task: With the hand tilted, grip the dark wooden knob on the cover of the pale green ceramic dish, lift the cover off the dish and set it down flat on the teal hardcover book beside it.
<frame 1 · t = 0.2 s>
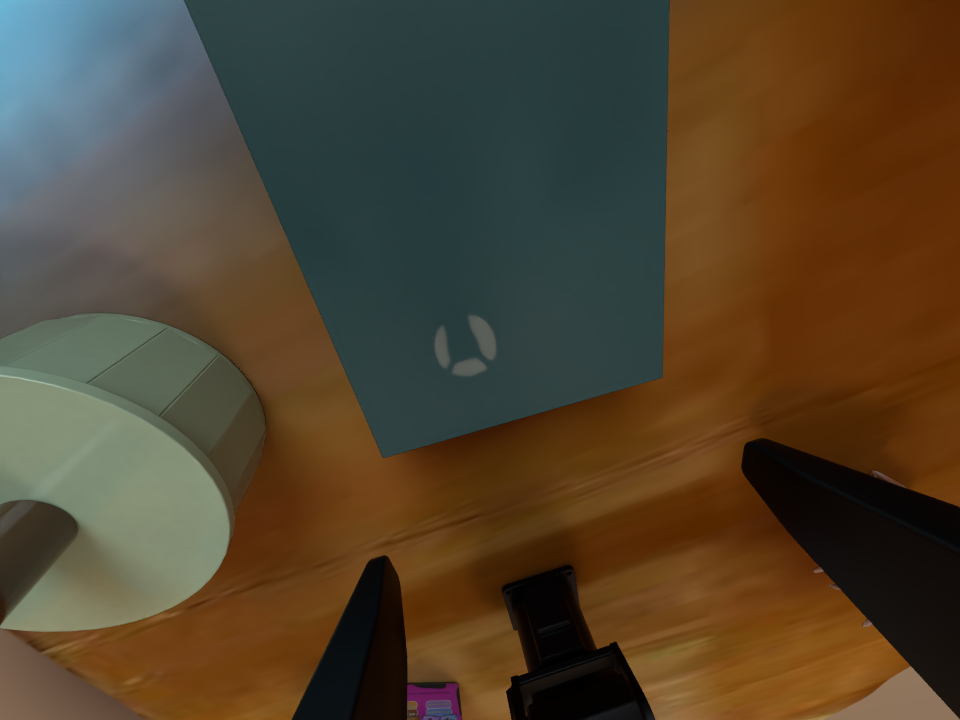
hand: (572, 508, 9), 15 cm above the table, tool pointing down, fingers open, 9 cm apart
candy bar box: (399, 693, 39), on the table
cover: (47, 513, 16), point 6 cm above the table, touching dish
dish: (141, 421, 21), on the table
book: (475, 219, 20), on the table
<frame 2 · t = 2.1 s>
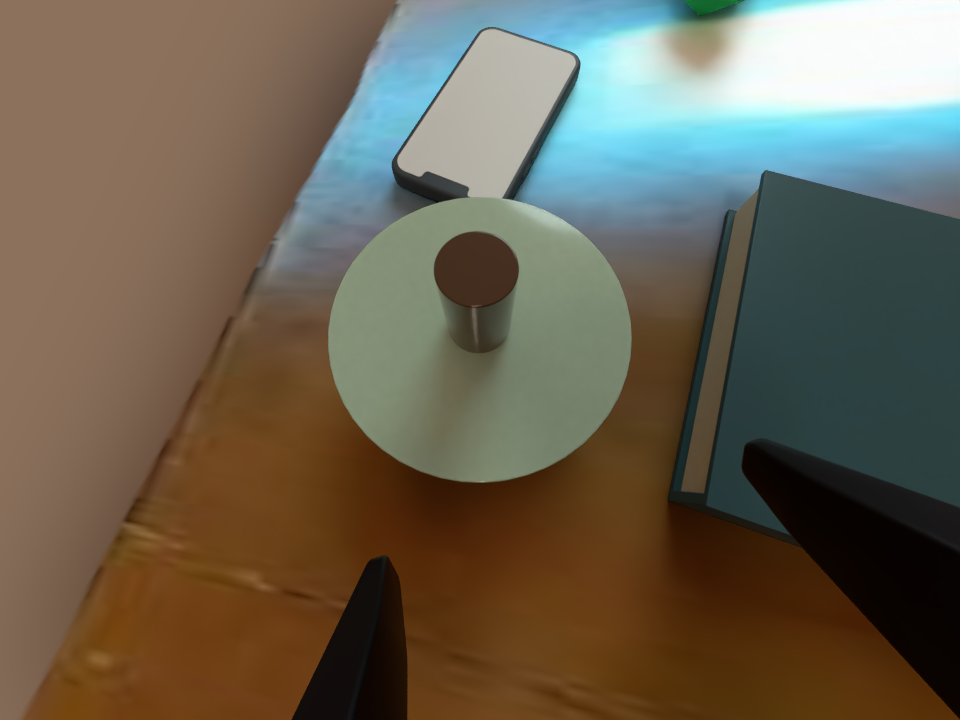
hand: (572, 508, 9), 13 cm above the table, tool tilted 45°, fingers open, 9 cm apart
cover: (479, 328, 18), point 6 cm above the table, touching dish
book: (831, 381, 24), on the table
smartphone: (490, 128, 30), on the table
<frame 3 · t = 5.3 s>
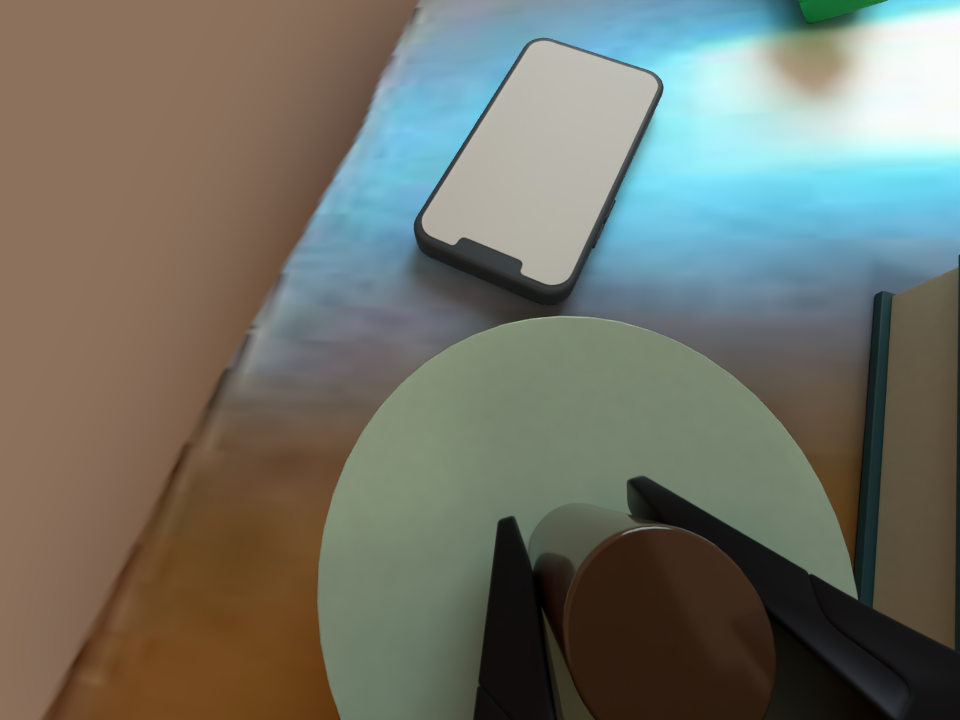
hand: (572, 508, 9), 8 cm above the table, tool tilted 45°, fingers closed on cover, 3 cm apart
cover: (576, 556, 11), point 7 cm above the table, touching dish, gripper
smartphone: (542, 172, 22), on the table
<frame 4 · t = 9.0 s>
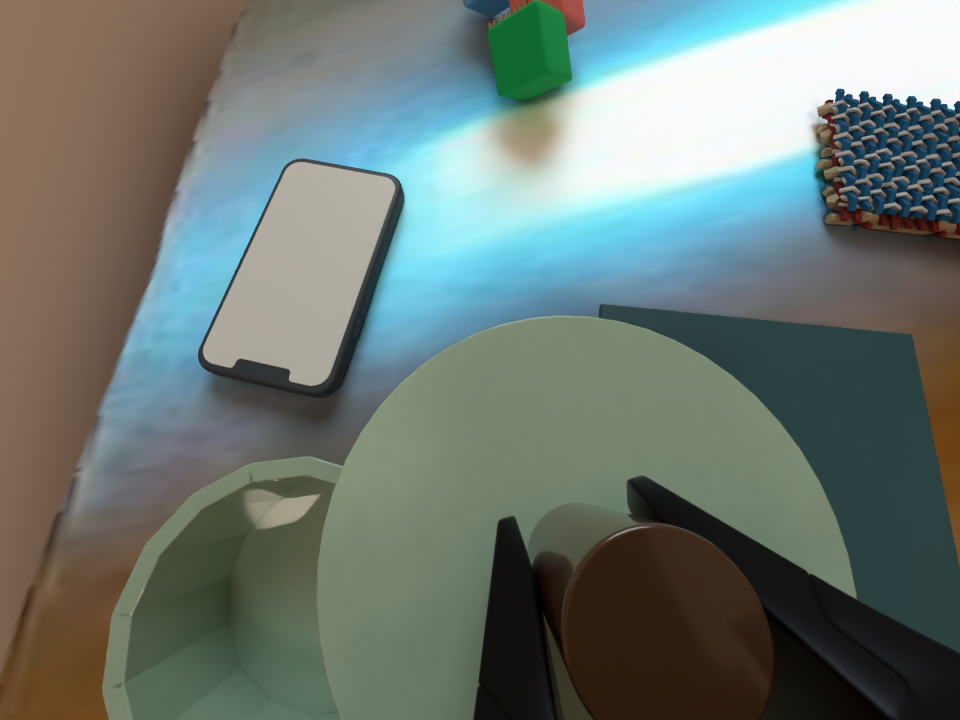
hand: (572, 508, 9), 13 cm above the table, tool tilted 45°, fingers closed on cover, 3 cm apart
building blocks: (508, 58, 32), on the table
woven mat: (886, 178, 28), on the table
cover: (575, 555, 11), point 12 cm above the table, touching gripper
dish: (337, 583, 21), on the table
book: (720, 512, 22), on the table
smartphone: (316, 276, 26), on the table
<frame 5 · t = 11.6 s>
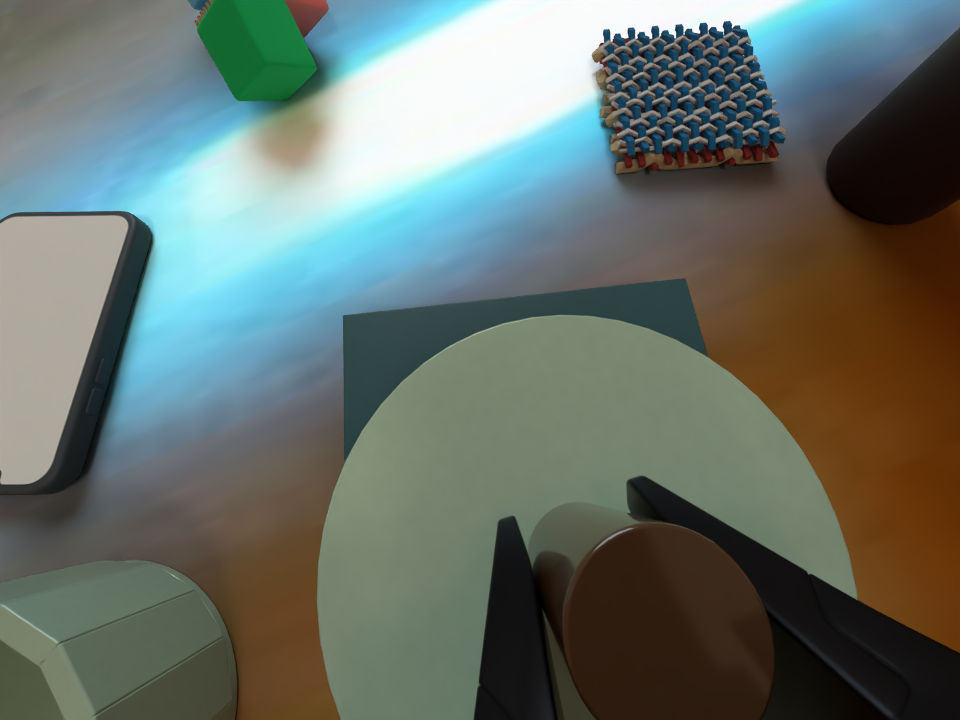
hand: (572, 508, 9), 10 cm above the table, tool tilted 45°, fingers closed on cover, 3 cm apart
bottle: (876, 183, 24), on the table
building blocks: (264, 58, 28), on the table
woven mat: (674, 114, 26), on the table
cover: (576, 555, 11), point 9 cm above the table, touching gripper
dish: (93, 717, 17), on the table
book: (537, 517, 19), on the table
smartphone: (54, 345, 22), on the table
when the fingers open (6 cm above the table, at t = 13.1 s): cover stays where it is, resting on book.
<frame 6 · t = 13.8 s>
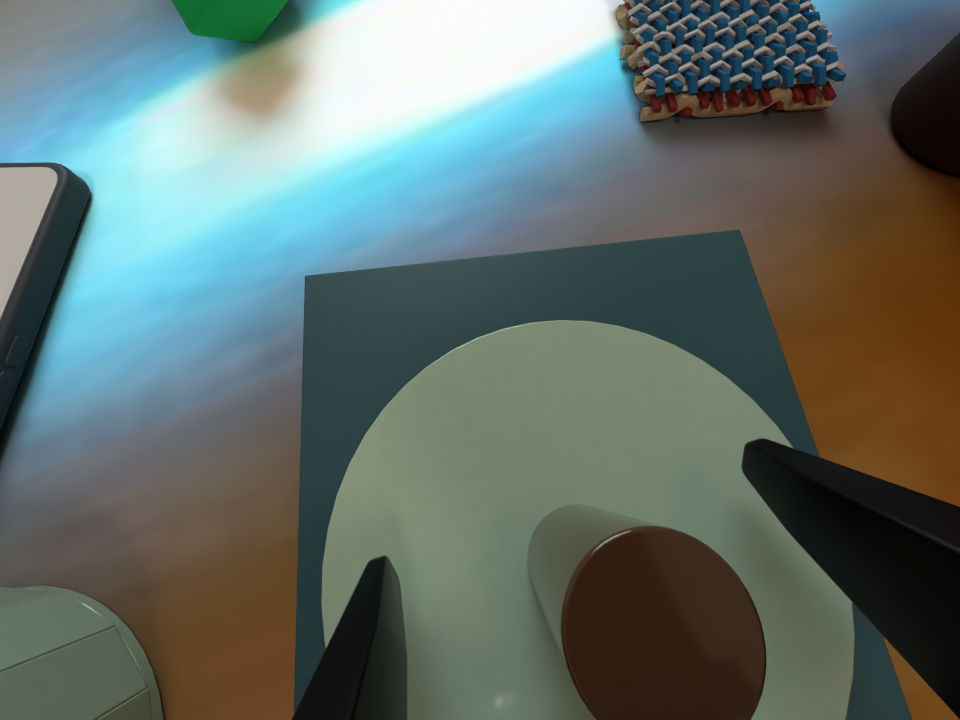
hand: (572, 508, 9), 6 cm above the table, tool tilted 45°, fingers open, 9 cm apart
bottle: (949, 132, 20), on the table
woven mat: (707, 56, 22), on the table
cover: (575, 556, 11), point 5 cm above the table, touching book
book: (550, 533, 15), on the table
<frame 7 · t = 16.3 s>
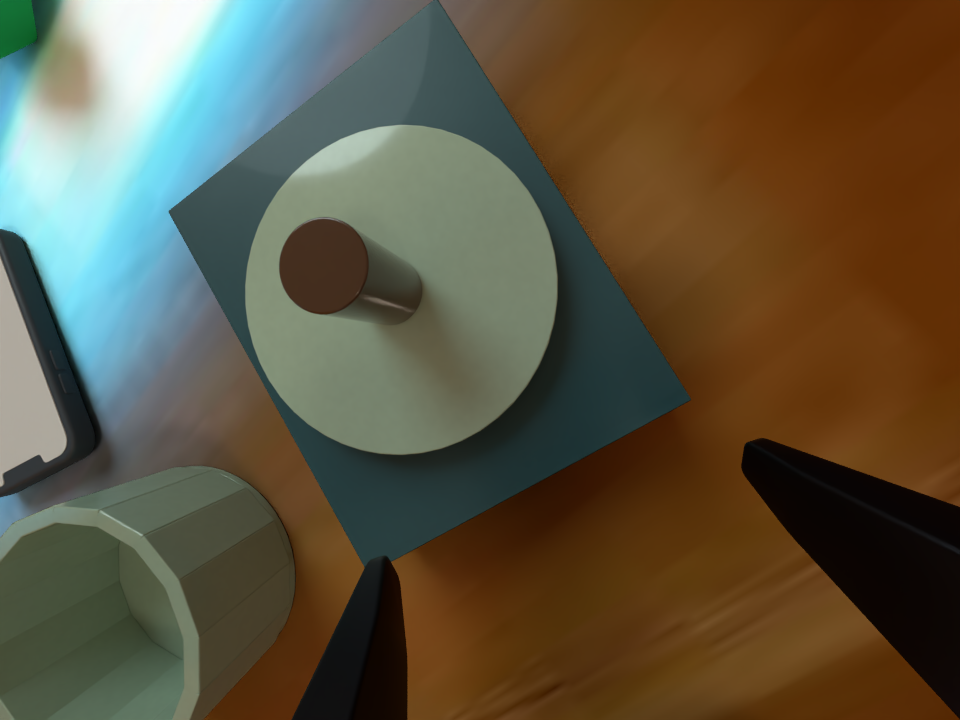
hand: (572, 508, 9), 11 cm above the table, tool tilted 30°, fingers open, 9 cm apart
cover: (395, 293, 17), point 5 cm above the table, touching book
dish: (202, 567, 24), on the table
book: (428, 305, 21), on the table
smartphone: (20, 362, 26), on the table
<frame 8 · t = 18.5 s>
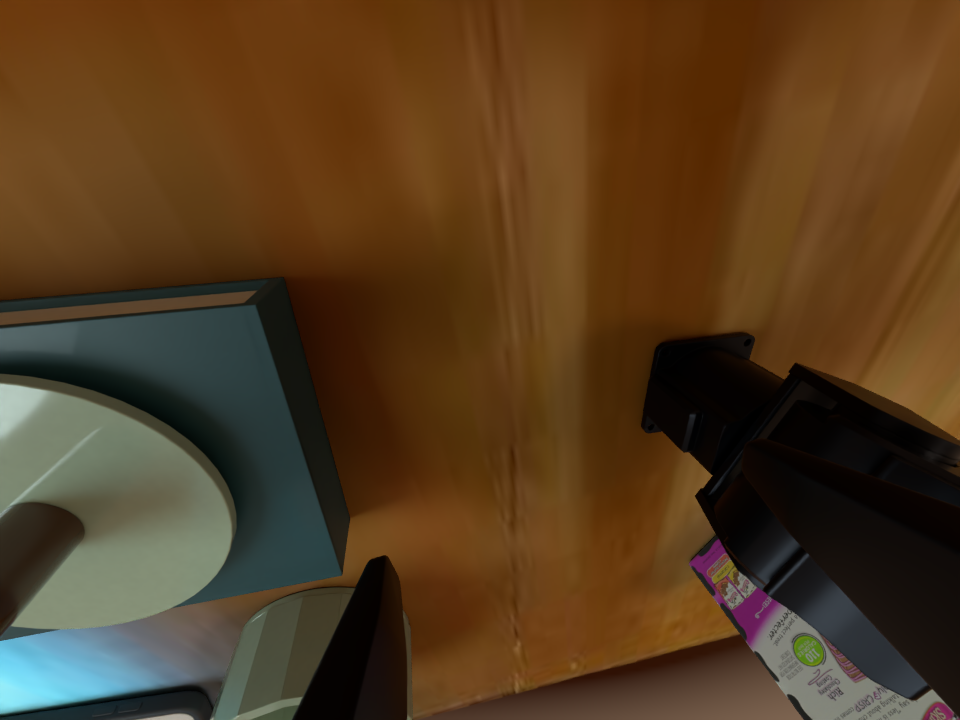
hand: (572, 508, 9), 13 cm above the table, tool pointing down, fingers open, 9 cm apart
candy bar box: (744, 524, 34), on the table
cover: (54, 515, 16), point 5 cm above the table, touching book
dish: (328, 639, 31), on the table
book: (122, 445, 20), on the table
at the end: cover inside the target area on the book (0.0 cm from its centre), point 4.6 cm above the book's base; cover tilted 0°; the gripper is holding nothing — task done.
